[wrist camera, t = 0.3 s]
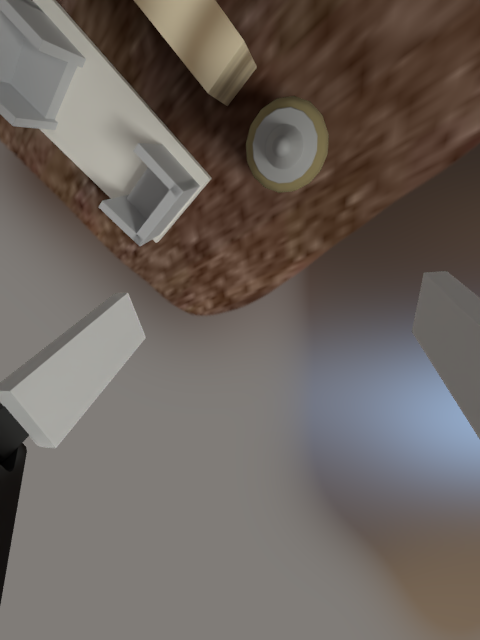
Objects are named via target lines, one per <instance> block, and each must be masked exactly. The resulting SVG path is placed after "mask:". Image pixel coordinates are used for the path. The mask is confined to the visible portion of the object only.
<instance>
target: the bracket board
mask: <svg viewBox="0 0 480 640" xmlns="http://www.w3.org/2000/svg"><path fill="white" fill-rule="evenodd" d="M0 114H1V115H2V116H3V117H4V118H5V119H6V120H7V121H8V122H9V123H10V124H11V125H12V126H18V127H28V128H39V129H40V130H41V131H42V132H43V133H44V134H45V135H46V136H47V137H48V138H49V139H50V140H51V141H52V142H53V143H54V144H55V145H56V146H57V147H58V148H59V149H60V150H62V151H63V152H64V153H65V154H66V155H67V156H68V157H69V158H70V159H71V160H72V161H73V162H74V163H75V164H76V165H77V166H78V167H79V168H80V169H81V170H82V171H83V172H84V173H85V174H86V175H87V176H88V177H89V178H90V179H91V180H92V181H93V182H94V183H95V184H96V185H97V186H98V187H100V188H101V189H102V190H103V191H104V192H105V193H106V194H107V195H108V196H109V197H110V198H111V199H108V200H104V201H102V202H101V204H100V205H99V208H100V209H101V210H102V211H103V212H104V213H105V214H106V215H107V216H108V217H109V218H110V219H111V220H113V221H114V222H115V223H116V224H117V225H118V226H119V227H120V228H121V229H122V230H123V231H124V232H125V233H126V234H127V235H128V236H129V237H130V238H131V239H133V240H134V241H135V242H136V243H137V244H138V245H139V246H141V245H143V244H145V243H146V242H148V241H150V240H152V239H153V240H154V241H155V242H156V243H157V242H158V241H160V239H161V238H162V237H163V236H164V235H165V233H166V232H167V231H168V230H169V229H170V227H171V226H172V225H173V224H174V223H175V222H176V220H177V219H178V218H179V217H180V216H181V214H182V213H183V212H184V211H185V210H186V208H187V207H188V206H189V205H190V204H191V202H192V201H193V200H194V199H195V198H196V197H197V195H198V194H199V193H200V192H201V191H202V189H203V188H204V187H205V186H206V185H207V183H208V182H209V181H210V180H211V179H212V178H211V177H210V175H209V174H208V173H207V172H206V171H205V170H204V169H203V167H202V166H201V165H200V164H199V163H198V162H197V161H196V160H195V158H194V157H193V156H192V155H191V154H190V153H189V152H188V150H187V149H186V148H185V147H184V146H183V145H182V144H181V142H180V141H179V140H178V139H177V138H176V137H175V136H174V134H173V133H172V132H171V131H170V130H169V129H168V128H167V126H166V125H165V124H164V123H163V122H162V121H161V120H160V118H159V117H158V116H157V115H156V114H155V113H154V112H153V110H152V109H151V108H150V107H149V106H148V105H147V104H146V102H145V101H144V100H143V99H142V98H141V97H140V96H139V94H138V93H137V92H136V91H135V90H134V89H133V88H132V86H131V85H130V84H129V83H128V82H127V81H126V80H125V79H124V77H123V76H122V75H121V74H120V73H119V72H118V71H117V69H116V68H115V67H114V66H113V65H112V64H111V63H110V61H109V60H108V59H107V58H106V57H105V56H104V55H103V53H102V52H101V51H100V50H99V49H98V48H97V47H96V45H95V44H94V43H93V42H92V41H91V40H90V39H89V37H88V36H87V35H86V34H85V33H84V32H83V31H82V29H81V28H80V27H79V26H78V25H77V24H76V23H75V21H74V20H73V19H72V18H71V17H70V16H69V15H68V13H67V12H66V11H65V10H64V9H63V8H62V7H61V5H60V4H59V3H58V2H57V1H56V0H33V1H31V0H0Z"/></svg>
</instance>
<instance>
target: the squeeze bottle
mask: <svg viewBox="0 0 480 640" xmlns="http://www.w3.org/2000/svg"><path fill="white" fill-rule="evenodd" d="M328 137H329V135H328V132H327V129H326V125H325V122H324V119H323V116H322V114H321V113H320V112H319V111H318V110H317V109H316V108H315V107H314V106H313V104H312V103H311V102H309V101H307V100H304V99H301V98H298V97H295V96H290V97H284V98H278V99H275V100H274V101H272V102H271V103H270V104H268V105H267V106H265V107H264V108H262V109H261V110H260V112H259V113H258V115H257V116H256V118H255V119H254V121H253V122H252V124H251V126H250V129H249V133H248V137H247V141H246V153H247V163H248V165H249V167H250V169H251V172H252V174H253V176H254V178H256V179H257V180H258V181H259V182H260V183H261V184H262V185H263V186H264V187H265V188H267V189H270V190H273V191H276V192H291V191H295V190H297V189H299V188H301V187H303V186H305V185H307V184H309V183H310V182H311V181H312V180H313V179H314V177H315V176H316V175H317V174H318V173H319V172H320V171H321V168H322V166H323V164H324V161H325V159H326V156H327V154H328Z"/></svg>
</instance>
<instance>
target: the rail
mask: <svg viewBox="0 0 480 640" xmlns="http://www.w3.org/2000/svg"><path fill="white" fill-rule="evenodd" d="M134 1H135V2H136V4H137V5H138V6H139V7H140V9H141V10H142V11H143V12H144V14H145V15H146V16H147V17H148V19H149V20H150V21H151V22H152V24H153V25H154V26H155V28H156V29H157V30H158V31H159V33H160V34H161V35H162V36H163V38H164V39H165V40H166V41H167V43H168V44H169V45H170V46H171V48H172V49H173V50H174V51H175V53H176V54H177V55H178V56H179V58H180V59H181V60H182V62H183V63H184V64H185V65H186V67H187V68H188V69H189V70H190V72H191V73H192V74H193V75H194V77H195V78H196V79H197V80H198V82H199V83H200V84H201V85H202V87H203V88H204V89H205V90H206V92H207V93H208V94H209V95H211V96H213V97H214V98H216V99H217V100H219V101H220V102H222V103H223V104H225V105H226V106H228V105H229V104H230V102H231V101H232V100H233V98H234V97H235V96H236V94H237V93H238V92H239V91H240V89H241V88H242V87H243V85H244V84H245V83H246V81H247V80H248V79H249V77H250V76H251V75H252V73H253V72H254V71H255V69H256V68H257V67H256V65H255V62H254V60H253V58H252V56H251V54H250V52H249V50H248V48H247V46H246V44H245V42H244V40H243V39H242V37H241V36H240V35H239V33H238V32H237V30H236V29H235V28H234V26H233V25H232V23H231V22H230V20H229V19H228V18H227V16H226V15H225V13H224V12H223V11H222V9H221V8H220V6H219V5H218V4H217V2H216V1H215V0H134Z"/></svg>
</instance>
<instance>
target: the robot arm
mask: <svg viewBox="0 0 480 640" xmlns="http://www.w3.org/2000/svg"><path fill="white" fill-rule="evenodd" d="M412 333H413V334H414V336H415V337H416V339H417V341H418V342H419V344H420V345H421V347H422V348H423V350H424V352H425V353H426V355H427V356H428V358H429V359H430V361H431V363H432V364H433V366H434V367H435V369H436V371H437V372H438V373H439V375H440V377H441V379H442V380H443V382H444V383H445V385H446V387H447V388H448V390H449V391H450V393H451V394H452V396H453V398H454V399H455V401H456V402H457V404H458V406H459V407H460V409H461V410H462V412H463V413H464V415H465V417H466V418H467V420H468V421H469V423H470V425H471V426H472V428H473V429H474V431H475V432H476V434H477V436H478V437H479V439H480V298H479V297H478V296H477V295H476V294H474V293H473V292H472V291H470V290H469V289H468V288H467V287H466V286H464V285H463V284H462V283H460V282H459V281H458V280H457V279H456V278H454V277H453V276H452V275H451V274H450V273H448V272H447V271H442V272H428V273H424V275H423V280H422V286H421V290H420V295H419V299H418V304H417V309H416V314H415V320H414V324H413V329H412ZM145 338H146V337H145V334H144V332H143V329H142V327H141V324H140V322H139V319H138V317H137V314H136V312H135V309H134V307H133V304H132V302H131V299H130V297H129V294H128V293H115V294H114V295H112V296H111V297H110V298H108V299H107V300H106V301H105V302H103V303H102V304H101V305H99V306H98V307H97V308H96V309H94V310H93V311H92V312H90V313H89V314H88V315H87V316H85V317H84V318H83V319H81V320H80V321H79V322H78V323H76V324H75V325H74V326H72V327H71V328H70V329H69V330H67V331H66V332H65V333H63V334H62V335H61V336H60V337H58V338H57V339H56V340H54V341H53V342H52V343H51V344H49V345H48V346H47V347H46V348H44V349H43V350H42V351H40V352H39V353H38V354H36V355H35V356H34V357H33V358H31V359H30V360H29V361H27V362H26V363H25V364H24V365H22V366H21V367H20V368H18V369H17V370H16V371H15V372H13V373H12V374H11V375H9V376H8V377H7V378H6V379H4V380H3V381H2V382H0V604H1V598H2V592H3V586H4V580H5V574H6V569H7V563H8V557H9V552H10V546H11V540H12V534H13V528H14V523H15V516H16V511H17V505H18V499H19V493H20V488H21V482H22V476H23V471H24V465H25V459H26V453H27V450H26V446H25V445H24V444H23V443H22V442H23V441H24V440H25V439H26V438H27V437H28V436H30V437H31V439H32V440H33V441H34V442H35V443H36V444H37V446H39V447H49V448H56V447H57V446H58V445H59V444H60V443H61V441H62V440H63V439H64V437H65V436H66V435H67V434H68V433H69V431H70V430H71V429H72V428H73V426H74V425H75V424H76V423H77V422H78V420H79V419H80V418H81V417H82V415H83V414H84V413H85V412H86V411H87V409H88V408H89V407H90V406H91V404H92V403H93V402H94V401H95V400H96V398H97V397H98V396H99V395H100V393H101V392H102V391H103V390H104V388H105V387H106V386H107V385H108V384H109V382H110V381H111V380H112V379H113V377H114V376H115V375H116V374H117V373H118V371H119V370H120V369H121V367H122V366H123V365H124V364H125V363H126V362H127V360H128V359H129V358H130V357H131V355H132V354H133V353H134V352H135V350H136V349H137V348H138V347H139V346H140V344H141V343H142V342H143V341H144V339H145Z"/></svg>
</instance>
